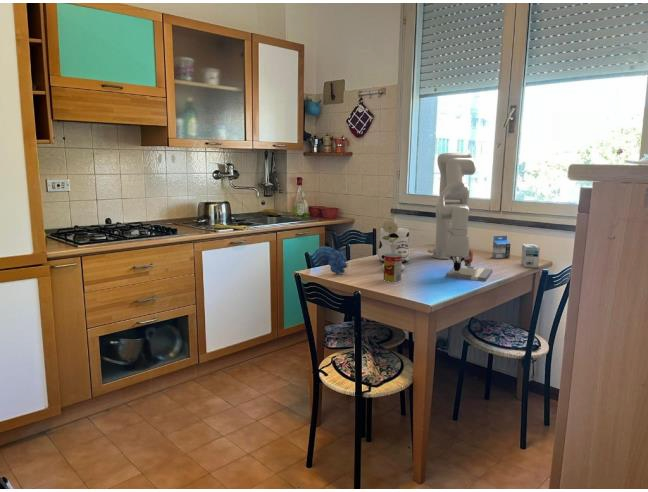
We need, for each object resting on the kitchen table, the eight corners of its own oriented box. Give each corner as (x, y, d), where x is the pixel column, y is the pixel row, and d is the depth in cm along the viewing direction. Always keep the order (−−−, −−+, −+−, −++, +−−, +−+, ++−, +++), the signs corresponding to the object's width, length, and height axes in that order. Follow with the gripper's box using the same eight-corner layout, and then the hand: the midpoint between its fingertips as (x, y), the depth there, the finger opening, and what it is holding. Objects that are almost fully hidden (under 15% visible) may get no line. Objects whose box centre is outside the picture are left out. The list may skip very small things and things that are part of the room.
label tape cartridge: (495, 258, 263) (497, 237, 261) (491, 257, 267) (493, 236, 265) (509, 258, 265) (511, 236, 263) (505, 256, 269) (507, 235, 267)
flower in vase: (409, 270, 234) (410, 220, 230) (396, 274, 226) (397, 223, 222) (387, 266, 243) (388, 218, 239) (374, 270, 235) (375, 220, 231)
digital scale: (445, 276, 222) (446, 273, 222) (455, 268, 240) (455, 265, 240) (485, 281, 214) (485, 277, 214) (492, 272, 232) (492, 269, 231)
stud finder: (459, 274, 221) (460, 267, 220) (461, 271, 225) (462, 265, 225) (475, 275, 218) (475, 269, 217) (477, 273, 222) (477, 266, 221)
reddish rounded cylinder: (462, 267, 242) (463, 250, 240) (464, 265, 246) (465, 248, 244) (471, 268, 240) (472, 251, 238) (472, 266, 244) (473, 249, 242)
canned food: (389, 277, 220) (390, 252, 218) (404, 280, 216) (405, 254, 213) (380, 280, 214) (380, 255, 212) (395, 283, 210) (396, 257, 207)
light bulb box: (538, 268, 241) (540, 247, 239) (524, 267, 242) (526, 246, 240) (533, 263, 251) (535, 243, 249) (520, 263, 253) (522, 243, 251)
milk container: (403, 266, 243) (404, 232, 240) (372, 263, 252) (373, 229, 249) (414, 260, 258) (415, 228, 255) (384, 257, 267) (385, 226, 263)
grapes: (335, 278, 219) (335, 253, 217) (325, 275, 224) (325, 251, 222) (352, 274, 227) (353, 249, 224) (342, 272, 231) (343, 248, 229)
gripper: (441, 232, 221) (439, 270, 224) (473, 234, 214) (471, 273, 217) (444, 230, 227) (443, 267, 230) (476, 232, 220) (474, 270, 223)
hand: (456, 270), depth 224 cm, fingers closed
